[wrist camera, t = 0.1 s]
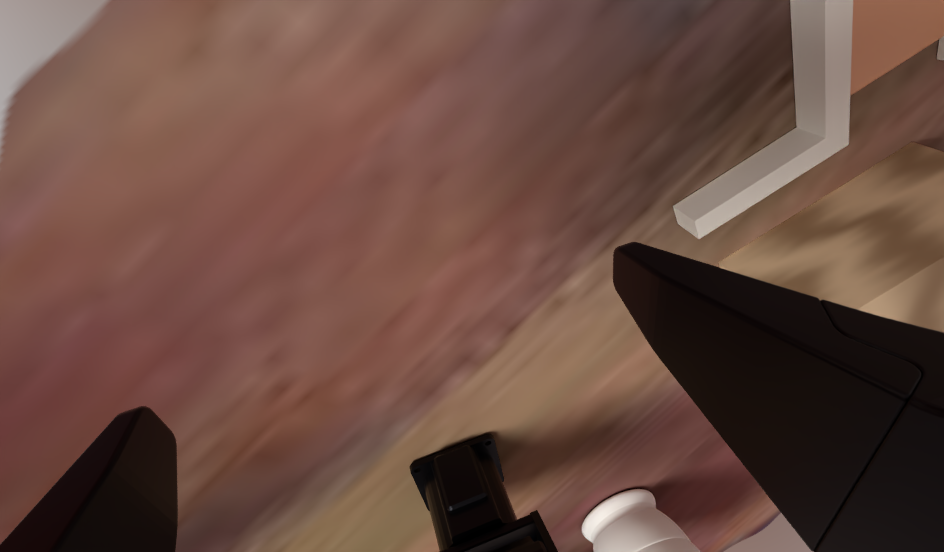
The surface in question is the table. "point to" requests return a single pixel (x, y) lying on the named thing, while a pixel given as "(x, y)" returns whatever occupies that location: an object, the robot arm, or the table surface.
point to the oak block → (865, 242)
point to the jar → (634, 526)
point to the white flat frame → (819, 95)
